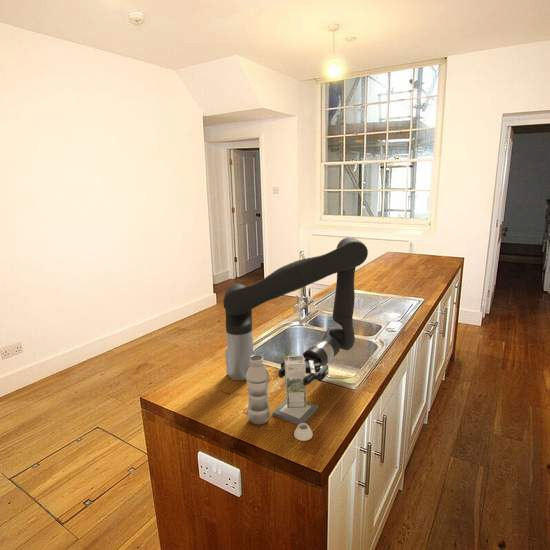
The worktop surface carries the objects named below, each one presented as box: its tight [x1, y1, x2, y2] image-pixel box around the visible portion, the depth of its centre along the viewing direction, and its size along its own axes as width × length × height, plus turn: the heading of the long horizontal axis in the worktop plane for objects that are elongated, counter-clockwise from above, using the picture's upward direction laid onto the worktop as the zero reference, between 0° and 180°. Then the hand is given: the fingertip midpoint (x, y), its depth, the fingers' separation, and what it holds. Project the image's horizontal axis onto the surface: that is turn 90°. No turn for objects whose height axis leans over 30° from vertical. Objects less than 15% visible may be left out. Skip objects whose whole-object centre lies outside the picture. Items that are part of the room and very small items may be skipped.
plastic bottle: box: [245, 354, 271, 425], centre depth 109 cm, size 6×7×20 cm
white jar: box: [293, 422, 314, 442], centre depth 104 cm, size 5×3×5 cm
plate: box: [272, 400, 319, 426], centre depth 115 cm, size 10×10×1 cm
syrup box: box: [284, 354, 307, 408], centre depth 113 cm, size 6×6×14 cm
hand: (291, 378), depth 111 cm, fingers closed on syrup box, 8 cm apart
